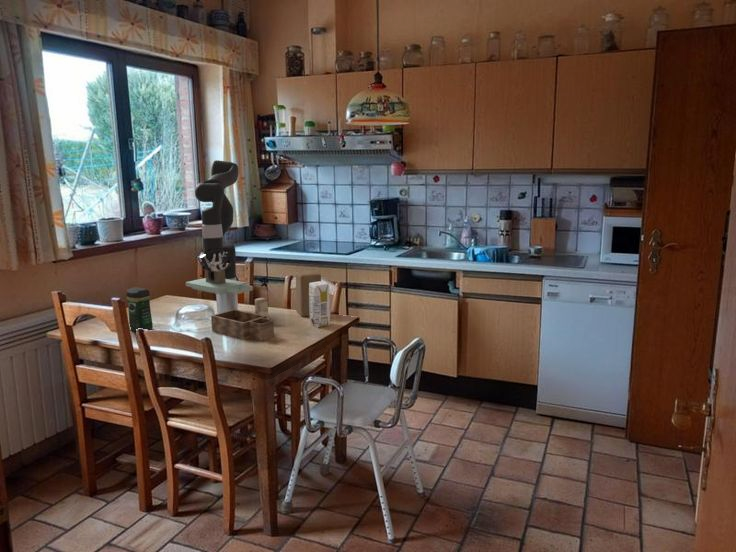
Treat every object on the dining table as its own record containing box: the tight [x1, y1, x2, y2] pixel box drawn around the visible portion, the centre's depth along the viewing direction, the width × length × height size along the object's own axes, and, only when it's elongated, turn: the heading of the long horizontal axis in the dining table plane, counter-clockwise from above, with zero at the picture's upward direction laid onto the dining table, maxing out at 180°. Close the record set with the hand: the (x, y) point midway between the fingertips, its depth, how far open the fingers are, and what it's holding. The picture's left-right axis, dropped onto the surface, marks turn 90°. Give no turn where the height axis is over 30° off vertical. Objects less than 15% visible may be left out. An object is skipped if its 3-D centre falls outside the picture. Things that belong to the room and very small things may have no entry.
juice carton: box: [309, 280, 331, 329], centre depth 250 cm, size 8×9×19 cm
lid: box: [185, 268, 254, 295], centre depth 220 cm, size 27×13×8 cm, turn 54°
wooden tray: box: [210, 309, 275, 342], centre depth 240 cm, size 27×13×7 cm, turn 54°
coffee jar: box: [126, 286, 154, 332], centre depth 245 cm, size 10×8×19 cm
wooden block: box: [295, 270, 322, 318], centre depth 268 cm, size 10×10×20 cm
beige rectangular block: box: [254, 297, 269, 319], centre depth 255 cm, size 4×4×11 cm
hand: (215, 279), depth 222 cm, fingers closed on lid, 3 cm apart
